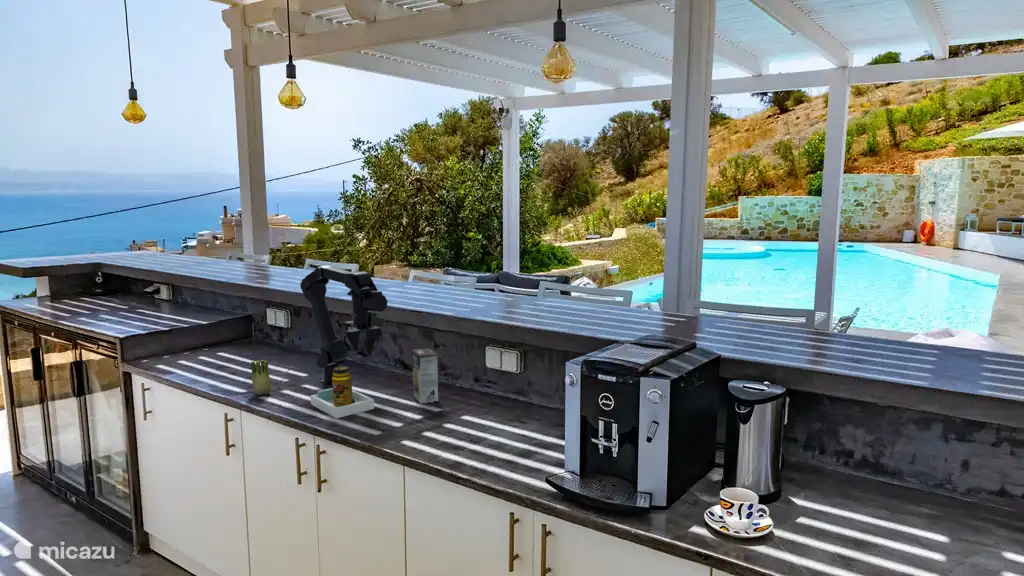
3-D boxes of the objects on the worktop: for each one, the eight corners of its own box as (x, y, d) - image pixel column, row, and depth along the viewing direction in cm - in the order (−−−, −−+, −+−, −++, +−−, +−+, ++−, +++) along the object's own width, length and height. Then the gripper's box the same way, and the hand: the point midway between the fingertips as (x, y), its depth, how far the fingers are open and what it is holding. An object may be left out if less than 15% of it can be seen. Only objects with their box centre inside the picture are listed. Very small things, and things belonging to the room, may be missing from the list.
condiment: (332, 409, 204) (330, 372, 202) (331, 400, 212) (329, 365, 210) (356, 406, 206) (354, 369, 204) (353, 398, 214) (352, 363, 212)
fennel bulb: (251, 395, 222) (248, 361, 220) (262, 391, 226) (260, 357, 224) (263, 397, 219) (260, 362, 217) (274, 393, 223) (272, 359, 221)
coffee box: (412, 396, 218) (411, 349, 216) (431, 393, 220) (429, 347, 218) (419, 404, 210) (418, 355, 207) (439, 401, 212) (437, 353, 210)
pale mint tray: (309, 403, 212) (309, 394, 211) (346, 395, 220) (345, 386, 220) (336, 418, 197) (335, 408, 197) (374, 408, 206) (373, 399, 205)
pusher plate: (317, 402, 210) (317, 391, 210) (346, 395, 217) (345, 385, 216) (319, 403, 210) (318, 392, 209) (347, 396, 216) (347, 385, 215)
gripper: (395, 309, 220) (397, 354, 222) (368, 302, 234) (370, 345, 236) (366, 313, 212) (368, 360, 215) (339, 306, 226) (342, 350, 229)
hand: (363, 353), depth 224 cm, fingers open, 9 cm apart
